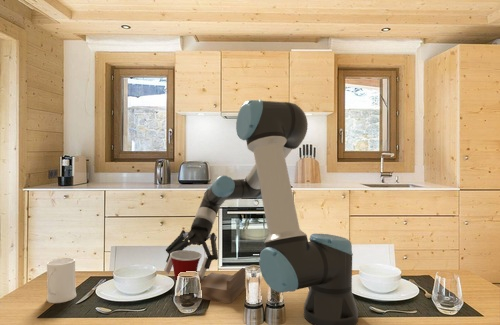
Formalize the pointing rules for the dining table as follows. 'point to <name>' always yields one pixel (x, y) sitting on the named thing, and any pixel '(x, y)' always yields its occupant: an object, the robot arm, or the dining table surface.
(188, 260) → the plastic cup
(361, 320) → the dining table surface
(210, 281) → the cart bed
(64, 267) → the mug
